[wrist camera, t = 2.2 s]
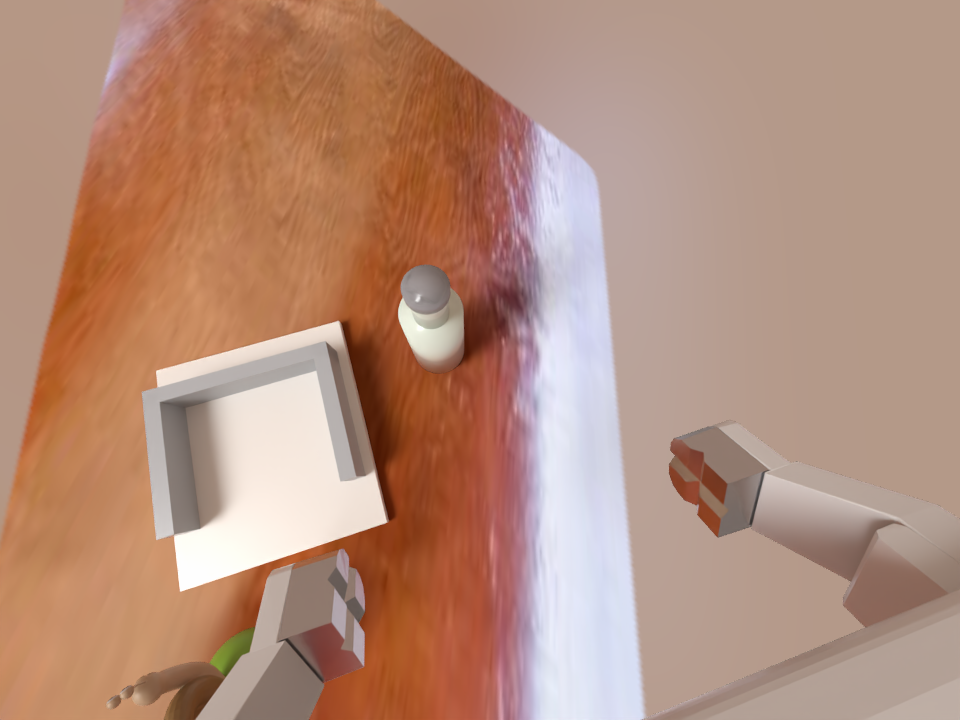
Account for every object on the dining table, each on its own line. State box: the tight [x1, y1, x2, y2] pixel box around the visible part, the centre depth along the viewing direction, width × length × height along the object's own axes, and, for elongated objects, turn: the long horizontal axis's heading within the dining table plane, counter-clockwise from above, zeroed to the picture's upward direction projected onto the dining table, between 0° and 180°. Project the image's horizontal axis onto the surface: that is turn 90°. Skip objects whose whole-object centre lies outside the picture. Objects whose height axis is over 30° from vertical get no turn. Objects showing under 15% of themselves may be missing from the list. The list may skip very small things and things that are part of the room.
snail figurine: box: [106, 627, 255, 720], centre depth 25 cm, size 5×6×12 cm
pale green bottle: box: [398, 265, 464, 374], centre depth 31 cm, size 5×5×13 cm
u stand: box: [142, 321, 389, 592], centre depth 32 cm, size 18×16×4 cm
